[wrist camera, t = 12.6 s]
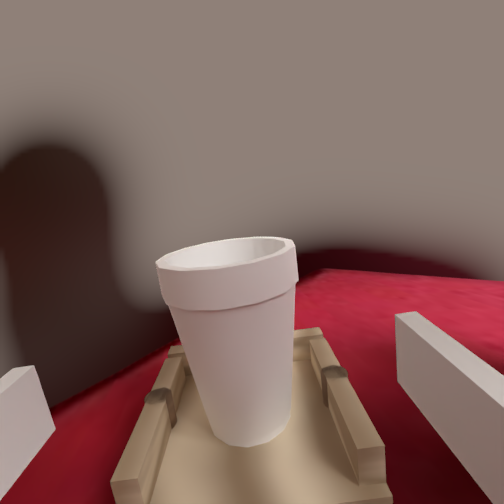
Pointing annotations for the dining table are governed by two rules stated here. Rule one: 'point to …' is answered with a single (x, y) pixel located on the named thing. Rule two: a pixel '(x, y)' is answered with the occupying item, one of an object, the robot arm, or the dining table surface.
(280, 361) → the foam cup
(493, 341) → the dining table surface
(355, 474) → the cradle
